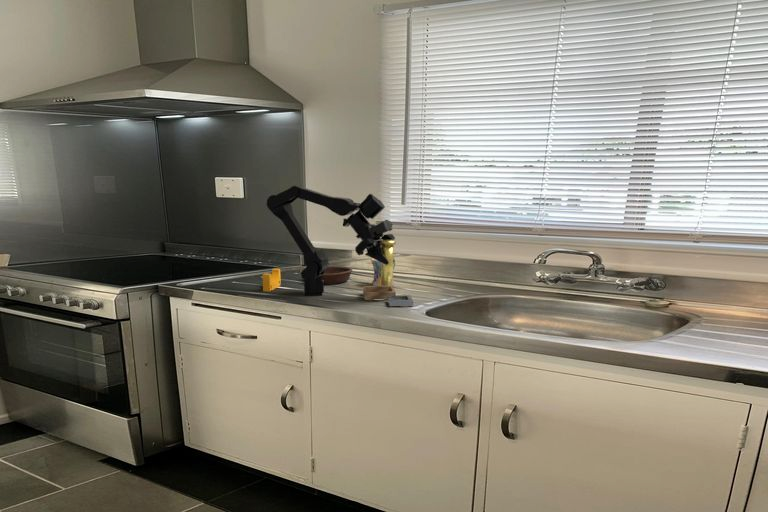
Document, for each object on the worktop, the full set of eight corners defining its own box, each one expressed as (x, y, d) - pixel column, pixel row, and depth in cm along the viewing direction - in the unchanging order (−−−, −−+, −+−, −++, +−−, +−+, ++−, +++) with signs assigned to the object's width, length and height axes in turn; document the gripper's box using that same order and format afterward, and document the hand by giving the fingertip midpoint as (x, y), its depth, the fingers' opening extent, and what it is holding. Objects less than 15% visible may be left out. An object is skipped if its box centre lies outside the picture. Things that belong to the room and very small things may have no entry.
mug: (384, 289, 191) (384, 261, 190) (365, 286, 197) (365, 259, 196) (404, 284, 201) (404, 257, 199) (385, 281, 206) (385, 255, 205)
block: (389, 307, 165) (389, 301, 165) (387, 301, 173) (387, 295, 173) (413, 306, 166) (413, 300, 166) (409, 301, 174) (409, 295, 173)
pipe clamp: (270, 285, 201) (269, 268, 200) (280, 285, 201) (280, 268, 200) (258, 291, 190) (258, 274, 189) (269, 291, 189) (269, 274, 188)
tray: (364, 300, 174) (364, 292, 174) (363, 293, 184) (363, 286, 184) (395, 300, 175) (395, 291, 175) (392, 293, 185) (392, 285, 185)
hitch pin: (379, 286, 171) (380, 241, 169) (378, 283, 176) (379, 239, 174) (395, 286, 172) (396, 241, 169) (393, 283, 177) (394, 239, 175)
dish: (364, 279, 211) (364, 267, 211) (328, 289, 194) (327, 276, 193) (333, 275, 222) (332, 263, 221) (295, 283, 204) (295, 271, 203)
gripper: (363, 213, 164) (393, 251, 161) (390, 210, 180) (418, 244, 177) (342, 236, 169) (371, 273, 165) (370, 231, 185) (397, 264, 182)
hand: (390, 263), depth 172 cm, fingers closed on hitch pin, 4 cm apart
